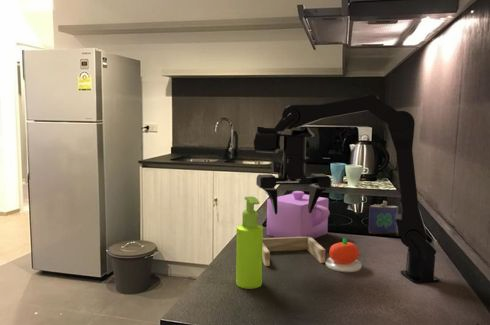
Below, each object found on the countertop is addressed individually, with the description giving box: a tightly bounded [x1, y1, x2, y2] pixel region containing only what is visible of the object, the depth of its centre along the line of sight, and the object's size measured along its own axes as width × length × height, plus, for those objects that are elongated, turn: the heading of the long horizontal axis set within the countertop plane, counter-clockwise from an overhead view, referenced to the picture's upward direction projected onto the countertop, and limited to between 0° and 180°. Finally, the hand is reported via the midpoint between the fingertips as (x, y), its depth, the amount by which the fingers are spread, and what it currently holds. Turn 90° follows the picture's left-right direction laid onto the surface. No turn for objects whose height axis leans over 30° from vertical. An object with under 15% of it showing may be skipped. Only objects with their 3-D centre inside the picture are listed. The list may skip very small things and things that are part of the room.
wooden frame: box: [262, 236, 326, 267], centre depth 112 cm, size 12×16×4 cm
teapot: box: [264, 190, 331, 240], centre depth 133 cm, size 15×25×14 cm, turn 47°
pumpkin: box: [328, 237, 360, 264], centre depth 106 cm, size 7×8×6 cm
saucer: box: [324, 257, 363, 273], centre depth 106 cm, size 9×9×1 cm
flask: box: [368, 200, 399, 235], centre depth 136 cm, size 9×3×11 cm, turn 88°
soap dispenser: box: [235, 196, 264, 290], centre depth 93 cm, size 6×7×20 cm
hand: (292, 213), depth 109 cm, fingers open, 9 cm apart
